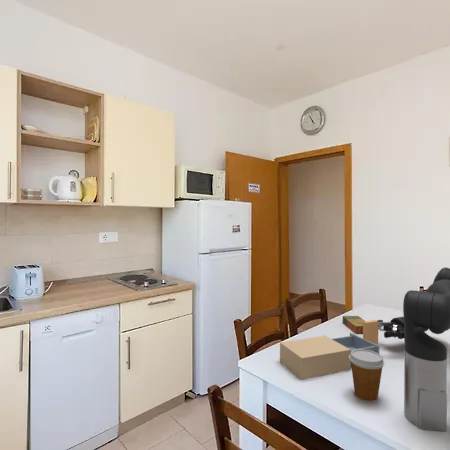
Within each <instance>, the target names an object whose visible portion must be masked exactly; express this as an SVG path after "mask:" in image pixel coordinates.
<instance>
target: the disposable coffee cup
mask: <svg viewBox="0 0 450 450" xmlns="http://www.w3.org/2000/svg"><path fill="white" fill-rule="evenodd" d="M349 359H350V361H351V373H352V383H353V390H354V395H355V396H356V397H357V398H358V399H361V400H362V401H367V402H374V401H377V400H378V399H379V392H380V385H381V379H382V372H383V368H384V365H385V361H384V359H383V356H382V355H381V354H380V353H379V354H378V353H376V352H373V351H370V350H364V349H357V350H353V351H351V354H350V355H349Z"/></svg>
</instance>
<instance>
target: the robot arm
mask: <svg viewBox="0 0 450 450" xmlns="http://www.w3.org/2000/svg"><path fill="white" fill-rule="evenodd" d="M402 303H403V306H402V308H403V309H402V311H403V312H402V314H403V316H398V317H393V318H392V319H391V320H390V321H387V322H386V321H385V322H384V320H383V319H377V321H378V331H380V332H383V337H384V338H385V339H389V338H395V339H396V338H397V339H399V340H402V339H404V369H403V370H404V372H403V373H404V374H403V375H404V378H403V379H404V382H403V387H404V391H403V397H404V398H403V399H404V400H403V401H404V402H403V404H404V405H403V407H404V408H403V410H404V411H403V413H404V416H405V418H406V419H407V420H408V421H410V422H411V423H412V424H413V425H416V426H417V427H418V429H420V430H429V431H438V432H447V431H448V429H447V428H448V417H447V416H448V394H447V379H448V378H447V377H448V375H447V373H448V372H447V368H448V350H447V347H446V346H445V344H444V343H442V342H441V341H439V340H437V339H435V338H434V337H432V336H431V335H429V334H428V333H427V331H428V330H429V331H430V332H431V333H432V334H435V335H440V334H441V335H442V334H443V333H445V332H446V331H448V330H450V268H449V267H442V268H441V269H440V270H439V271H438V272H437V273H436V276H435V277H434V279H433V282H432V284H430V285H429V286H428V287H427V289H426V291H420V290H408V291H407V292H406V293H405V294H404V297H403V302H402Z"/></svg>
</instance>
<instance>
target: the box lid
mask: <svg viewBox="0 0 450 450" xmlns="http://www.w3.org/2000/svg"><path fill="white" fill-rule="evenodd" d="M332 339H333V338H330V337H328V336H326V335H321V336H313V337H306V338H300V339H293V340H287V341H286V340H285V341H280V342H279V362H281V364H283V365H284V367H286V368H287V369H288V370H290V371H291V372H292V373H293V374H295V375H296V376H297V377H298V378H300V380H308V379H311V378H312V379H313V378H317V377H321V376H326V375H331V374H334V373H336V374H337V373H341V372H345V371H350V370H351V371H352V367H351V361H350V359H349V355H350V354H351V350H350V349H349V348H347V347H345V346H343V345H341V344H339V343H337V342H336V341H334V340H332Z"/></svg>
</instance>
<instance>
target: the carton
mask: <svg viewBox="0 0 450 450" xmlns="http://www.w3.org/2000/svg"><path fill="white" fill-rule="evenodd" d="M364 321H366V320H365V319H363V318H362V317H361V316H359V315H342V324H343V325H344V326H345V327H347V328H348V329H349V330H350V331H351V332H353V334H355V335H363V322H364Z"/></svg>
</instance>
